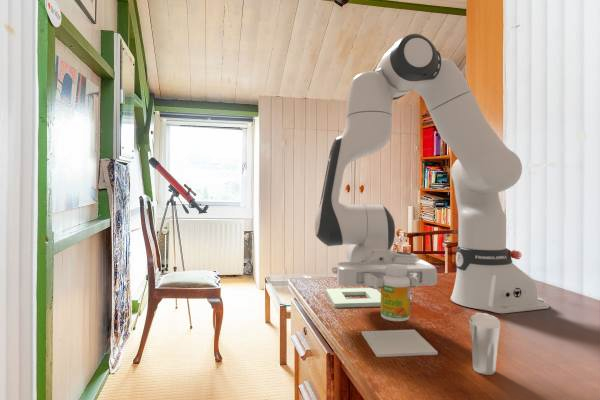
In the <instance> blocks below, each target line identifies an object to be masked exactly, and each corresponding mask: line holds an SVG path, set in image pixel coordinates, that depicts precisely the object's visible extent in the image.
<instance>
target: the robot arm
mask: <svg viewBox="0 0 600 400" xmlns="http://www.w3.org/2000/svg"><path fill="white" fill-rule="evenodd" d="M412 90H413V91H414V92H416V93H417V94H418V95H419V96H420V97H421V98H422V99H423V100H424V103H425V106H426V109H427V111H428V112H429V115H430V118H431V120H432V121H433V124H434V125H435V128H436V130H437V132H438V134H439V136H440V138H441V140H442V141H443V142H444V143H445V144H446V145H447V147H449V149H450V150H451V152H452V153H453V154H454V156H455V157H456V158H457V159H456V160H455V161H454V162H453V164H452V166H451V169H450V176H451V177H450V178H451V179H452V182H453V187H454V197H455V201H456V208H457V216H458V217H457V218H458V221H457V222H458V223H457V225H458V231H457V233H458V239H457V241H458V242H457V243H458V244H457V246H456V249H455V250H456V253H455V265H456V275H455V280H454V286H453V289H452V294H451V296H450V300H451V301H452V302H453V303H455V304H457V305H460V306H463V307H467V308H470V309H471V308H472V309H477V310H481V311H488V312H493V313H496V314H509V313H510V314H511V313H518V312H519V313H520V312H526V311H528V312H529V311H536V310H538V311H539V310H546V309H549V307H550V305H549V303H548V302H547V300H545V299H543V298H541V297H539V293H538V287H537V284H536V282H535V280H534V278H532V277H531V276H529V275H528V274H527V273H526V272H524V271H523V270H521V269H520V268H519V267H518V266H516V264H514V263H513V259H515V260H520V259H521V258H522V256H523V255H522V253H521V251H519V250H510V249H509V248H506V247H507V245H506V243H507V218H506V217H507V216H506V213H505V211H504V209H503V207H502V203H501V199H500V194H499V193H501V192H504V191H506V190H509V189H510V188H511V187H513V186H515V185H516V184H517V183H518V181H519V180H520V179H521V176H522V172H523V166H522V160H521V159H520V158H519V156H518V155H517V154H516V153H515V152H514V151H512V150H510V148H508V146H507V145H506V144H505V143H504V142H503V141H502V139H501V138H500V136H499V135H498V134H497V133H496V131H494V129H493V128H492V126H491V125H490V124H489V122H488V120H487V119H486V117H485V116H484V113H483V111H482V109H481V108H480V105H479V103H478V101H477V100H476V97H475V95H474V93H473V91H472V89H471V87H470V85H469V83H468V81H467V79H466V78H465V77H464V74H463V73H462V71H461V70H460V69H459V67H458V66H457V65H456V64H455V62H454V61H453V60H451V59H450V58H446V57H441V53H440V52H439V50H437V48H436V46H435V45H434V44H433V43H432V41H431V40H429V38H427V37H426V36H424V35H422V34H419V33H411V34H407V35H405V36H403V37H402V38H400V39H398V40H397V41H396V42H395V43H394V44H393V45H392V47H391V48H389V49H388V50H387V51H386V52H385V53H384V55H383V56H382V58H381V60H380V61H379V63H378V64H377V65H376V66H375V68H374V69H373V71H370V70H369V71H364V72H361V73H359V74H356V75H355V76H354V77H353V78H352V80H351V82H350V85H349V89H348V93H347V94H348V95H347V101H346V103H347V104H346V120H345V127H344V129H343V132H342V133H341V135H339V136H337V137H336V138H335V139H334V140H333V143H332V144H331V148H330V151H329V156H328V160H327V165H326V171H325V175H324V180H323V181H324V182H323V186H322V192H321V198H320V203H319V207H318V210H317V212H316V216H315V218H314V219H315V220H314V232H315V236H316V238H317V239H318V240H319V241H320V242H322V244H324V245H325V246H327V247H333V246H336V247H337V246H343V245H348V248H347V250H346V261H342V262H339V263H337V264H336V265H337V266H336V267H335V266H334V267H333V266H332V267H331V268H332V269H331V272H332V273H333V274H335V275H336V281H337V284H338V285H339V286H342V287H367V288H373V289H377V290H381V288H383V277H384V276H386V273H385V266H386V265H388V264H399V265H404V266H406V267H407V275H406V277H407V278H408V279H409V280H410V284H411V285H410V288H419V286H420V287H421V286H425V287H426V286H427V287H428V286H431V287H432V286H435V285H436V284H437V280H438V270H437V267H436V265H435V266H434V265H433V264H432V263H429V262H427V261H426V260H424V259H421V258H419V257H418V255H417V254H415V253H410V252H404V251H402V252H401V251H394V250H391V249H392V247H393V245H394V242H395V235H396V227H395V226H396V225H395V220H394V217H393V216H392V214H391V213H390V211H389V210H388V208H387V207H385V205H382V204H373V203H372V204H368V203H367V204H366V203H364V204H363V203H362V204H354V203H353V204H352V203H349V204H348V203H346V204H345V203H341V202H340V201H339V199H340V193H341V189H342V188H341V187H342V185H343V183H342V182H343V177H344V172H345V169H346V168H347V166H348V165H349V164H350V163H352V162H354V161H356V160H359V159H361V158H364V157H367V156H370V155H372V154H374V153H376V152H378V151H380V150H382V149H383V148H384V147H385V146H386V145H387V144H388V142H389V141H390V139H391V137H392V132H393V131H392V130H393V129H392V128H393V101H395V100H398V99H400V98H403V97H404V96H405V95H406V94H408V93H409V92H412Z"/></svg>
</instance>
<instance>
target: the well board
mask: <svg viewBox="0 0 600 400" xmlns="http://www.w3.org/2000/svg"><path fill="white" fill-rule="evenodd" d="M325 294H326V296H327V297H328V299H329V301H330V303H331V304H332V306H333V308H334V309H336V308H338V309H339V308H367V307H369V308H370V307H373V308H374V307H381V291H379V289H373V288H370V287H347V288H346V287H345V288H325ZM345 296H365V297H366V298H365V297H364V298H363V297H362V298H347V297H345Z"/></svg>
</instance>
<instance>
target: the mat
mask: <svg viewBox="0 0 600 400" xmlns="http://www.w3.org/2000/svg"><path fill="white" fill-rule="evenodd" d="M361 335H362V337H363V338H364V339H365V341H366V343H367V344H368V346H369V347H370V349H371V350H372V352H373V353H374V355H375V356H376V358H386V357H387V358H388V357H413V356H414V357H415V356H438V351H437V350H436V349H435V348H434V346H432V344H430V343H429V342H428V341H427V340H426V339H425V338H424V337H423V336H422V335H421V334H420V333H419V332H418V331H416V329H389V330H386V329H385V330H363V331H361Z"/></svg>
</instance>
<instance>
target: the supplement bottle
mask: <svg viewBox="0 0 600 400" xmlns="http://www.w3.org/2000/svg"><path fill="white" fill-rule="evenodd" d="M385 273H386V276H384V277H383V288H381V289H380V293H381V306H380V316H381V317H382V318H383V319H384V320H387V321H392V322H403V321H404V322H405V321H407V320H409V318H410V317H411V316H410V313H411V312H410V310H411V287H410V285H411V284H410V280H409V279H408V278H407V277H406V275H407V267H406V266H404V265H399V264H388V265H386V266H385Z"/></svg>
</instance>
